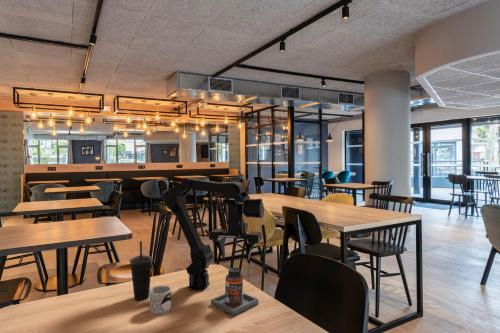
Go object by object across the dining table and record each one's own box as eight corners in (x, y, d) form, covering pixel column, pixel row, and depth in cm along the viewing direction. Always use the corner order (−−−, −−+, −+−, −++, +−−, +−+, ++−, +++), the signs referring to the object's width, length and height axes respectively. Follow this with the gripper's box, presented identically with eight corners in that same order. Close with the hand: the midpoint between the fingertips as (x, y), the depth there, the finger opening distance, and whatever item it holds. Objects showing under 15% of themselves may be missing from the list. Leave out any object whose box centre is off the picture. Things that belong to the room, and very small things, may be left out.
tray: (210, 304, 106) (210, 299, 106) (235, 294, 114) (235, 289, 114) (234, 316, 98) (234, 311, 98) (258, 304, 106) (258, 298, 106)
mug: (165, 316, 99) (165, 295, 99) (145, 314, 100) (145, 293, 100) (178, 301, 109) (178, 282, 108) (160, 299, 110) (160, 280, 110)
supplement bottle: (227, 307, 102) (227, 273, 102) (223, 299, 108) (223, 267, 108) (245, 305, 104) (244, 271, 104) (240, 297, 110) (240, 265, 109)
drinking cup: (156, 293, 115) (155, 238, 114) (147, 303, 107) (146, 244, 106) (136, 292, 116) (135, 238, 115) (126, 302, 108) (125, 244, 107)
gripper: (265, 213, 120) (265, 254, 120) (219, 211, 125) (220, 250, 126) (257, 219, 109) (257, 264, 110) (208, 217, 115) (208, 259, 115)
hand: (235, 259), depth 115 cm, fingers open, 9 cm apart
